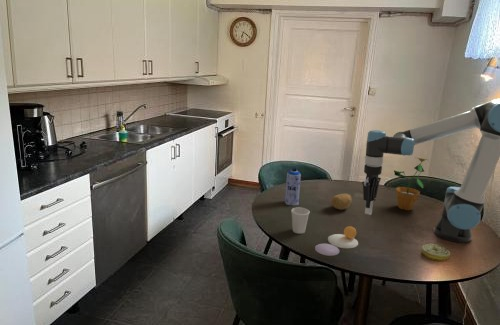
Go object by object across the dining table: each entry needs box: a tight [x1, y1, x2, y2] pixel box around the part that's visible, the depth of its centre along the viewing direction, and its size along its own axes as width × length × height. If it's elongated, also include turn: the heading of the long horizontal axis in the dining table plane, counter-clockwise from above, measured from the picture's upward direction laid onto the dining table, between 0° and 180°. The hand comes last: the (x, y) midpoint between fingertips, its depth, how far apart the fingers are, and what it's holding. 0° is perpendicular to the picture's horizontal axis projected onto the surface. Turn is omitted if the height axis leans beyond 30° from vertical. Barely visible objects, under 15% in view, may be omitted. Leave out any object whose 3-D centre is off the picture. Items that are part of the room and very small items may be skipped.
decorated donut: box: [421, 243, 451, 262], centre depth 153 cm, size 10×11×4 cm
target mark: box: [327, 233, 359, 249], centre depth 162 cm, size 13×13×1 cm
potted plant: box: [393, 156, 428, 211], centre depth 201 cm, size 18×19×30 cm
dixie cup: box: [290, 206, 311, 235], centre depth 169 cm, size 8×8×10 cm
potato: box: [330, 193, 353, 210], centre depth 199 cm, size 10×14×8 cm
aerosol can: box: [284, 167, 302, 206], centre depth 202 cm, size 8×8×20 cm
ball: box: [343, 225, 357, 239], centre depth 165 cm, size 6×6×6 cm
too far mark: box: [314, 243, 340, 257], centre depth 154 cm, size 10×10×1 cm
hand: (368, 213), depth 173 cm, fingers closed
